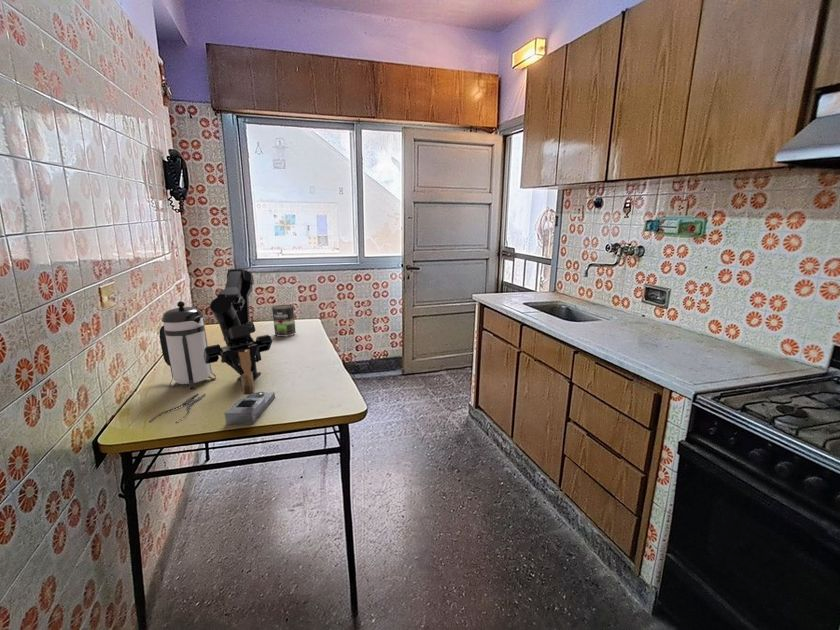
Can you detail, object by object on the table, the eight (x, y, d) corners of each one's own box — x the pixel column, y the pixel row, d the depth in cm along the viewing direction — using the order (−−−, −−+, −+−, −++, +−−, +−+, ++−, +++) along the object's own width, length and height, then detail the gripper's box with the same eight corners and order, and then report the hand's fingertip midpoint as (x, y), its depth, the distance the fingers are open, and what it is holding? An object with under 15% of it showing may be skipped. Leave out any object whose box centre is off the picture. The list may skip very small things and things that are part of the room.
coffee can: (292, 336, 206) (289, 308, 203) (271, 337, 207) (268, 309, 203) (299, 330, 216) (296, 304, 213) (279, 331, 217) (276, 304, 213)
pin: (245, 390, 127) (240, 349, 124) (256, 390, 127) (251, 349, 124) (241, 394, 124) (235, 352, 121) (252, 394, 124) (246, 352, 121)
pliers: (145, 423, 122) (176, 394, 141) (146, 426, 122) (176, 397, 141) (180, 421, 123) (206, 392, 142) (181, 424, 123) (207, 395, 142)
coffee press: (218, 371, 163) (207, 295, 155) (214, 386, 148) (201, 303, 141) (167, 378, 157) (153, 299, 150) (157, 394, 142) (141, 308, 135)
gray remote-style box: (251, 397, 138) (250, 387, 137) (275, 397, 138) (273, 387, 137) (226, 424, 121) (224, 413, 120) (253, 424, 121) (251, 412, 120)
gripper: (199, 319, 117) (215, 367, 111) (266, 309, 128) (284, 351, 123) (197, 340, 125) (212, 386, 119) (260, 328, 136) (277, 370, 131)
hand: (247, 372), depth 123 cm, fingers closed on pin, 3 cm apart
